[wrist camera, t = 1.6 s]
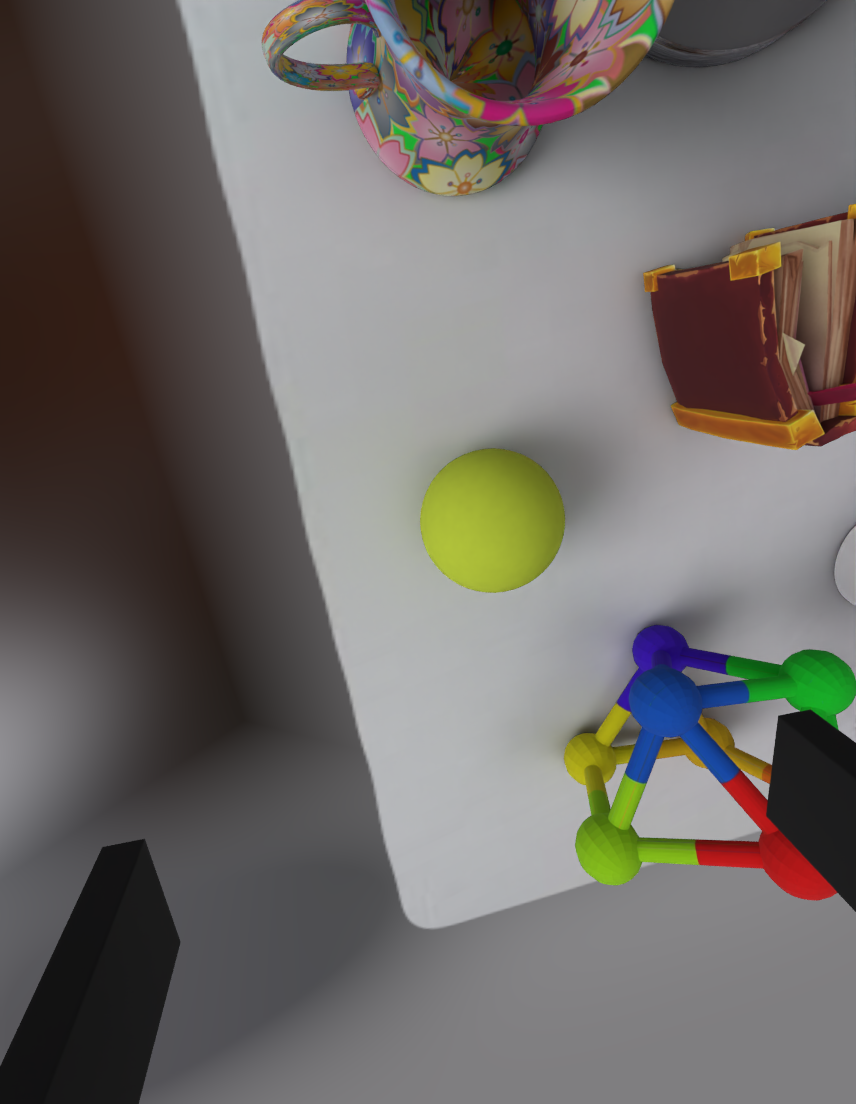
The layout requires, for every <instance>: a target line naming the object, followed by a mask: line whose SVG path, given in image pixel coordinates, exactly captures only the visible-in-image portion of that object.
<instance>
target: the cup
mask: <svg viewBox="0 0 856 1104" xmlns="http://www.w3.org/2000/svg"><path fill="white" fill-rule="evenodd" d="M834 574H835V582H836V585H837V588H838V590H839V592H840V593H841V595H842V596H843V597H844V598H845V599H846V600H848V601H849V602H851V603H852V604H853V605H855V606H856V526H855V527H854V528H853V529H852V530H851V531H850V533H849V534H848V535H847V537H846V538H845V540H844V541H843V543H842V545H841V547H840V549H839V552H838V555H837V558H836V562H835V571H834Z"/></svg>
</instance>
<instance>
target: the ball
mask: <svg viewBox="0 0 856 1104" xmlns="http://www.w3.org/2000/svg"><path fill="white" fill-rule="evenodd" d="M420 526H421V534H422V539H423V542H424V545H425V548H426V550H427V552H428V554H429V556H430V558H431V559H432V561H433V562H434V564H435V565H436V566H437V567H438V569H439V570H440V571H441V572H442V573H443V574H444V575H446V576H447V577H448V578H449V579H451V580H452V581H454V582H456V583H457V584H459V585H461V586H463V587H466V588H468V589H472V590H475V591H480V592H490V593H496V592H505V591H509V590H513V589H516V588H519V587H521V586H523V585H525V584H527V583H529V582H531V581H532V580H534V579H535V578H537V577H538V576H539V575H540V574H541V573H543V572H544V570H545V569H546V568H547V567H548V566H549V565H550V563H551V562H552V561H553V559H554V558H555V556H556V554H557V552H558V550H559V548H560V545H561V542H562V539H563V535H564V529H565V512H564V506H563V502H562V498H561V495H560V493H559V490H558V488H557V486H556V485H555V483H554V481H553V480H552V478H551V477H550V476H549V474H548V473H547V472H546V471H545V470H544V469H543V468H542V467H541V466H540V465H538V464H537V463H536V462H534V461H533V460H531V459H530V458H528V457H526V456H524V455H522V454H519V453H517V452H514V451H510V450H505V449H495V448H491V449H482V450H477V451H472V452H470V453H467V454H464V455H462V456H460V457H458V458H456V459H455V460H453V461H452V462H450V463H449V464H447V465H446V466H445V467H444V468H443V469H442V470H441V471H440V472H439V473H438V474H437V475H436V477H435V478H434V479H433V481H432V482H431V484H430V486H429V488H428V490H427V492H426V494H425V497H424V500H423V504H422V508H421V517H420Z"/></svg>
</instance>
